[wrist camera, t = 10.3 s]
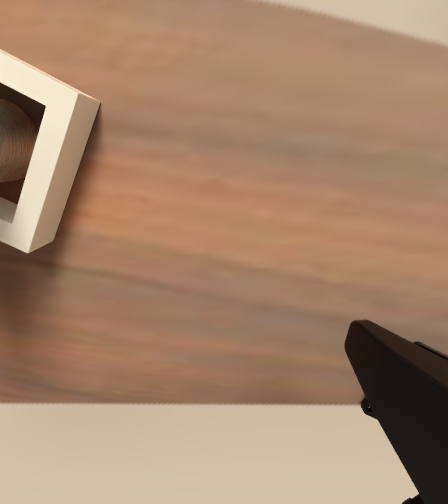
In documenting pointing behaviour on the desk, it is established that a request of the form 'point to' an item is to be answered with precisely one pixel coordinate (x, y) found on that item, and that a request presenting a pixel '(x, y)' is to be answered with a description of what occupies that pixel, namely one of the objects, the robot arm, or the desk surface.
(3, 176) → the gold capped glass jar
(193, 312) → the desk surface
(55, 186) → the socket
